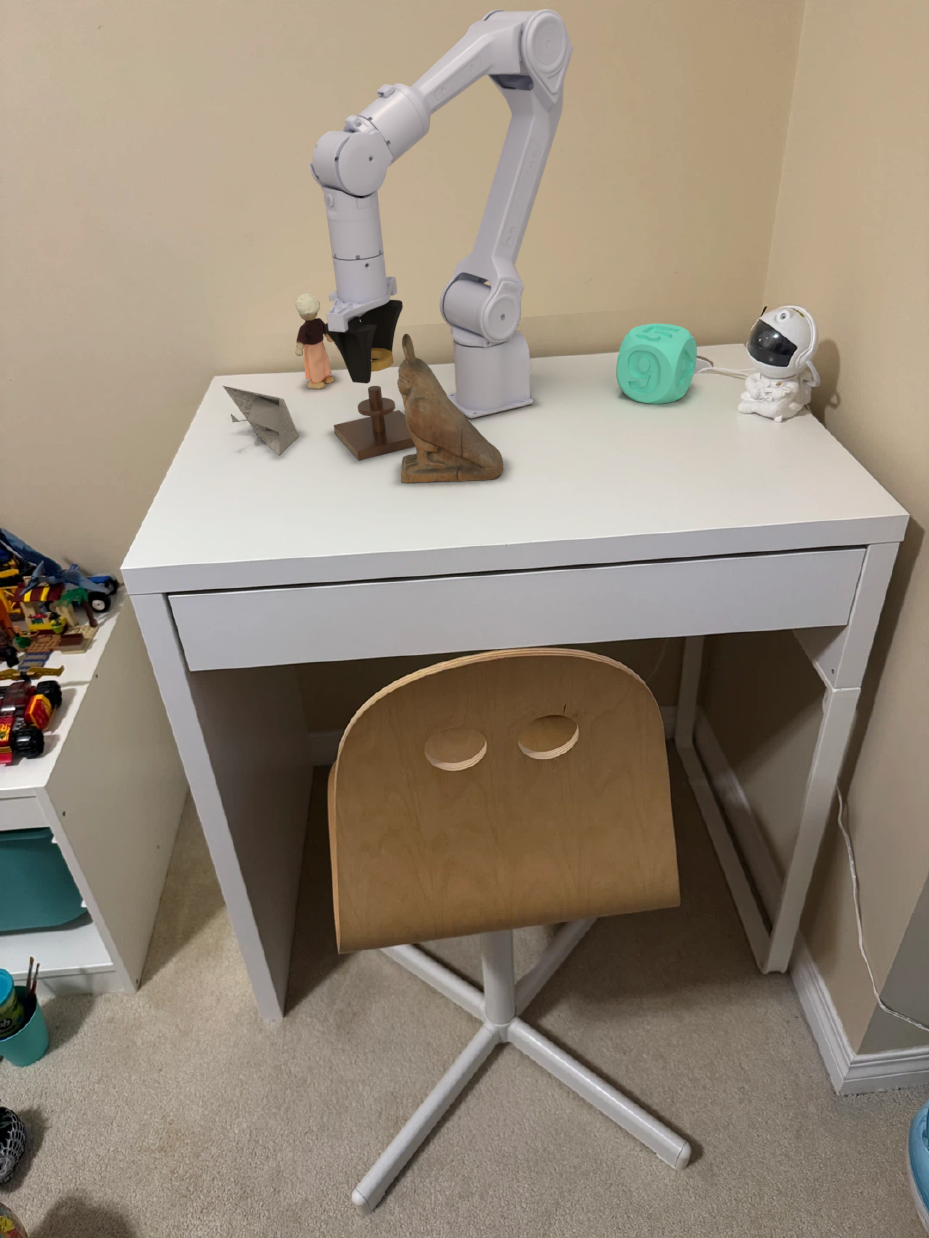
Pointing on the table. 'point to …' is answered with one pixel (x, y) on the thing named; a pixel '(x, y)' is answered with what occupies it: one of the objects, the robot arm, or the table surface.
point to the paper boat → (266, 417)
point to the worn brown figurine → (440, 430)
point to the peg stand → (375, 428)
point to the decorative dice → (656, 363)
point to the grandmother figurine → (313, 342)
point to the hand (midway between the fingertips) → (371, 372)
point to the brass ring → (381, 359)
